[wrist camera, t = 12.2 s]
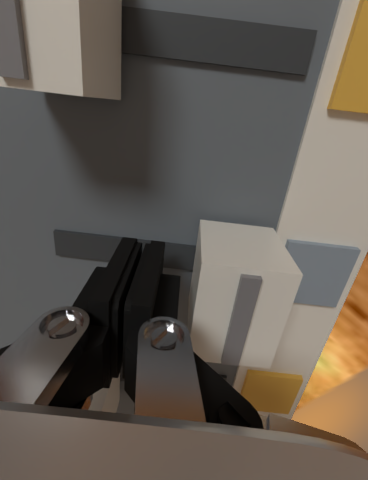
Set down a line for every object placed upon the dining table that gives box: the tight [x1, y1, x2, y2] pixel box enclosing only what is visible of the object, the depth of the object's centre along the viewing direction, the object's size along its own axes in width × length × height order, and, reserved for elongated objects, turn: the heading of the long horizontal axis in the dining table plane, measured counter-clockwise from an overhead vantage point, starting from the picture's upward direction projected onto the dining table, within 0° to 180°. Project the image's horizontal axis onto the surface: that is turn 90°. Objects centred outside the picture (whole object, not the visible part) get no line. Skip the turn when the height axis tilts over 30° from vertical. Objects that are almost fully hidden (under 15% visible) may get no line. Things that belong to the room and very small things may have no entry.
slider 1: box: [0, 0, 122, 100], centre depth 7 cm, size 3×4×4 cm
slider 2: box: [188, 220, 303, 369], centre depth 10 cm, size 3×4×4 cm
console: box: [0, 0, 368, 420], centre depth 14 cm, size 18×24×4 cm
